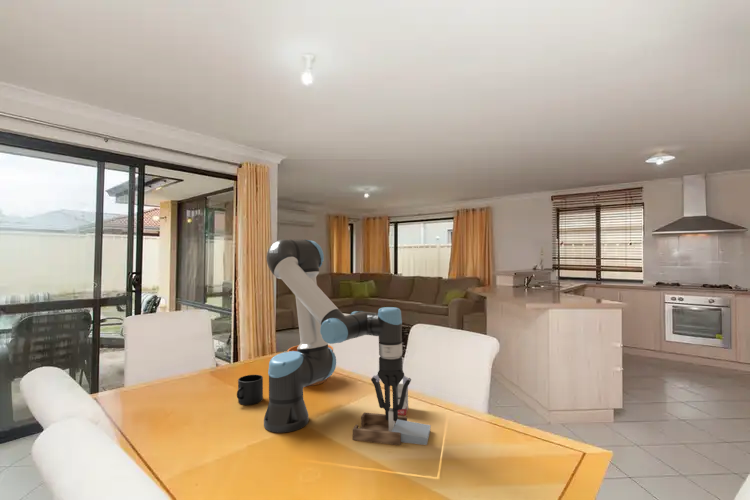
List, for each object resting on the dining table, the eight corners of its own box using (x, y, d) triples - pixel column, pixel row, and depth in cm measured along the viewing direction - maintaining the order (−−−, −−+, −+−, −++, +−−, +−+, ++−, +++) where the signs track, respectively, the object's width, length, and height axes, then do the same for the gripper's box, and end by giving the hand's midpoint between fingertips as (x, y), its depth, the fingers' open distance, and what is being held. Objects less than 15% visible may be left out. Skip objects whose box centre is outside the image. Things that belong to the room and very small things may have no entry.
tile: (391, 439, 116) (391, 431, 116) (396, 427, 125) (397, 419, 125) (426, 446, 114) (427, 438, 114) (430, 433, 122) (430, 425, 122)
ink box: (405, 417, 135) (405, 384, 135) (392, 416, 136) (392, 383, 136) (408, 407, 143) (408, 376, 143) (395, 406, 144) (395, 375, 144)
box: (352, 441, 117) (352, 429, 117) (364, 423, 130) (364, 412, 130) (400, 447, 114) (400, 434, 114) (407, 427, 126) (407, 416, 126)
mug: (228, 405, 147) (227, 382, 147) (250, 395, 158) (249, 373, 158) (246, 409, 143) (246, 385, 143) (267, 398, 154) (267, 376, 154)
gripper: (367, 358, 119) (369, 433, 119) (408, 360, 116) (410, 437, 115) (374, 352, 126) (375, 423, 126) (412, 354, 123) (413, 427, 123)
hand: (391, 430), depth 121 cm, fingers closed
